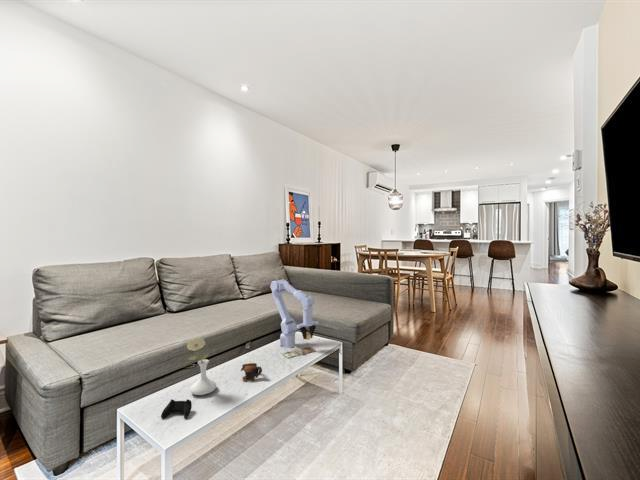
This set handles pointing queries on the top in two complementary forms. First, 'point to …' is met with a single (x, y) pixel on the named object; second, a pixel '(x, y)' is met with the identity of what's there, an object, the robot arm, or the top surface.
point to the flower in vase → (203, 383)
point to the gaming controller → (177, 408)
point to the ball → (308, 336)
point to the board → (298, 352)
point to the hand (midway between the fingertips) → (307, 338)
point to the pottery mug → (251, 371)
